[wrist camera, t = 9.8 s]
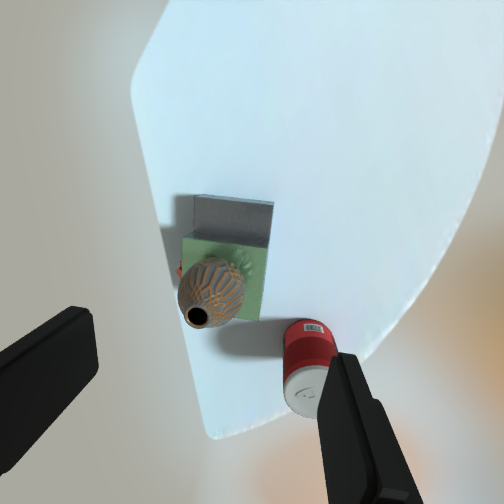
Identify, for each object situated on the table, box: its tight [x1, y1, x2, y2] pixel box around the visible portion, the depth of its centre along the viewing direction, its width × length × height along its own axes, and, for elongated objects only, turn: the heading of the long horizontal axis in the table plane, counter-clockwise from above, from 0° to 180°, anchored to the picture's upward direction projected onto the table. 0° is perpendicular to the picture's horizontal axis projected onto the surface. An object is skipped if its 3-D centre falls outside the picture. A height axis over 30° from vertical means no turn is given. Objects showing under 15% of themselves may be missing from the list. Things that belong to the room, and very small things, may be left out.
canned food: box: [283, 319, 339, 419], centre depth 35 cm, size 8×8×11 cm
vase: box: [178, 257, 246, 329], centre depth 26 cm, size 7×7×9 cm
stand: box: [176, 194, 274, 321], centre depth 33 cm, size 14×11×8 cm
